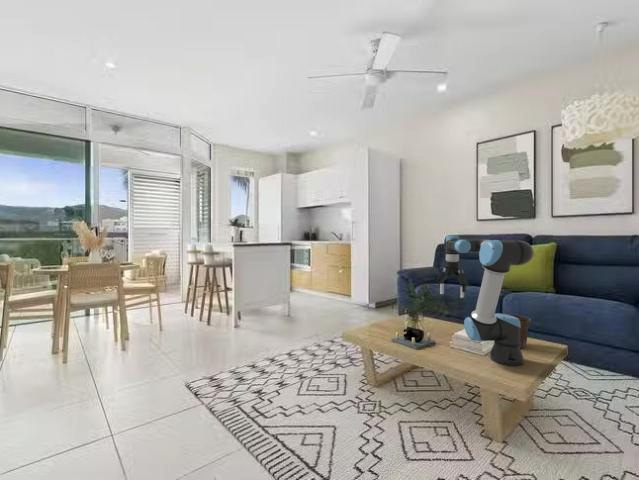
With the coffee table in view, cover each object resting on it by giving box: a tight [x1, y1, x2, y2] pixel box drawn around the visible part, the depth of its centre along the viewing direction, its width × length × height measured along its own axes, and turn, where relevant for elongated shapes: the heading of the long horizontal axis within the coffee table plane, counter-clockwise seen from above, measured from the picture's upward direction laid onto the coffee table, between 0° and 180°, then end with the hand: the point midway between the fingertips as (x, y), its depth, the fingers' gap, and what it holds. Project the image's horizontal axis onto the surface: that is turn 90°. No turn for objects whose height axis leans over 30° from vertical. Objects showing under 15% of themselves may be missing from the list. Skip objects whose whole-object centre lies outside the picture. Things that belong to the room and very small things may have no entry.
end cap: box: [403, 326, 425, 343], centre depth 198 cm, size 10×7×7 cm
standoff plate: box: [390, 332, 436, 351], centre depth 198 cm, size 18×18×6 cm
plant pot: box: [505, 313, 531, 349], centre depth 193 cm, size 16×16×16 cm
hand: (451, 295), depth 203 cm, fingers open, 13 cm apart
